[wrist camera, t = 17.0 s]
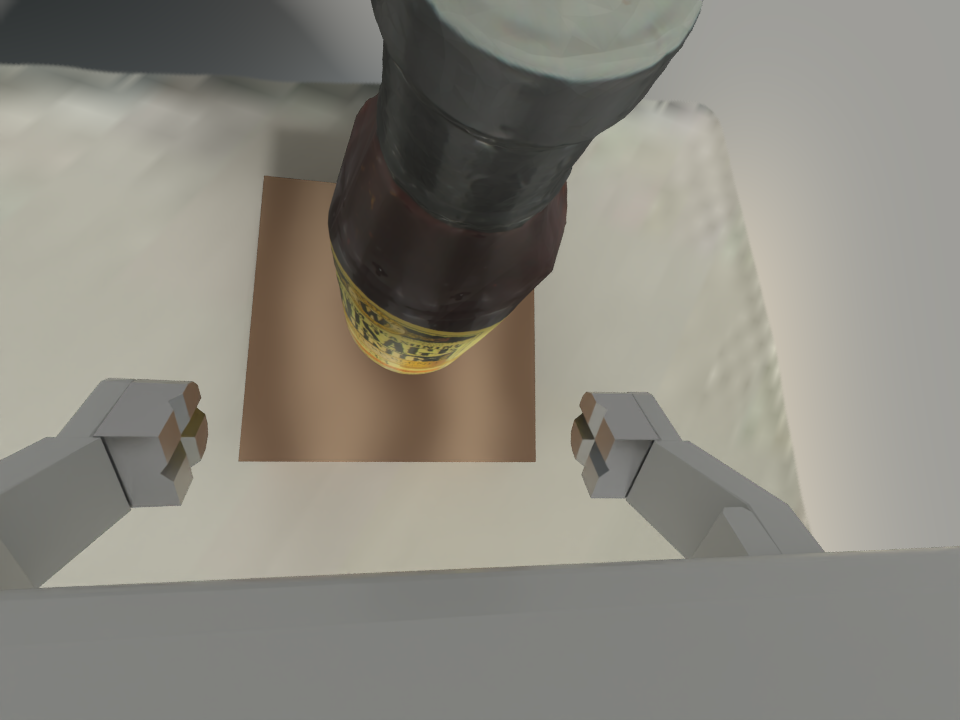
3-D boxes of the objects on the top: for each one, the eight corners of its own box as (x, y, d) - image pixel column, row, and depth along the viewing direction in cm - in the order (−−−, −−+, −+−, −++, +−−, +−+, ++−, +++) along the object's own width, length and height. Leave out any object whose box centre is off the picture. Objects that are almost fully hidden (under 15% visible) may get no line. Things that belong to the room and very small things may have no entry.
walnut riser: (260, 458, 26) (238, 461, 22) (280, 212, 28) (264, 175, 24) (515, 459, 28) (535, 461, 25) (514, 233, 31) (533, 203, 27)
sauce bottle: (321, 325, 24) (36, -184, 4) (402, 235, 25) (458, -436, 6) (426, 409, 24) (595, 277, 5) (501, 314, 25) (858, -77, 6)
